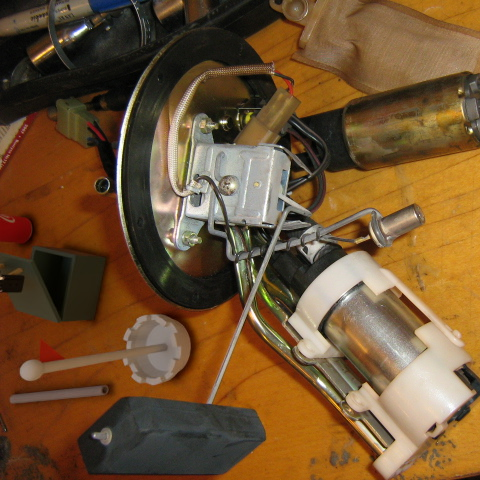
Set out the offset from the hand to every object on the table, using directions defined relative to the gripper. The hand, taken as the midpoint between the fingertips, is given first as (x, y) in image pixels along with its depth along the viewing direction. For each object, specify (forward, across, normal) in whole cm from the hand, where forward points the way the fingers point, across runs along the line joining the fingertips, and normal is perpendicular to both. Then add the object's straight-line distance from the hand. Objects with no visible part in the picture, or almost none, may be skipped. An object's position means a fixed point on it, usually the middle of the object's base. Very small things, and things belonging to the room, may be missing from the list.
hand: (9, 280), depth 87 cm
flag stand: (+16, +26, -8) cm, 32 cm away
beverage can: (+16, -20, +9) cm, 27 cm away
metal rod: (+16, +1, -25) cm, 29 cm away
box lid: (+4, 0, -1) cm, 4 cm away
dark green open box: (+16, 0, 0) cm, 16 cm away
